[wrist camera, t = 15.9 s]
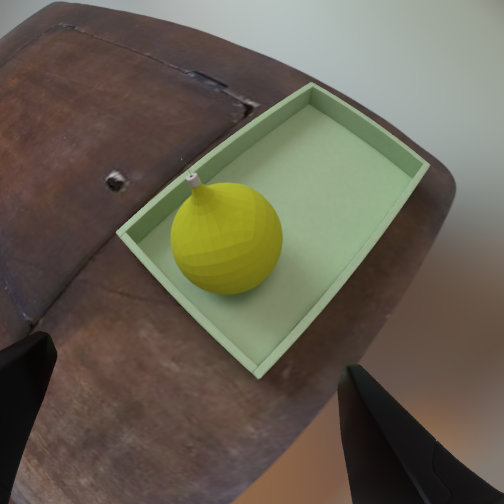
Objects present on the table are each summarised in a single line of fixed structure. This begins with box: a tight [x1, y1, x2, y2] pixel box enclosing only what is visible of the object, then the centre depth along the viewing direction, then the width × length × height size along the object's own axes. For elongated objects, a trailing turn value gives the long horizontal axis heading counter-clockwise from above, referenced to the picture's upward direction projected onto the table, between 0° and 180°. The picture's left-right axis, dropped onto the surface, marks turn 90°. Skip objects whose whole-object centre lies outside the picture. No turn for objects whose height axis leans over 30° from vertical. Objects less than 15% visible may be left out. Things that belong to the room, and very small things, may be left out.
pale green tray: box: [116, 82, 430, 379], centre depth 24 cm, size 14×23×3 cm, turn 137°
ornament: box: [171, 158, 283, 295], centre depth 18 cm, size 7×7×10 cm
